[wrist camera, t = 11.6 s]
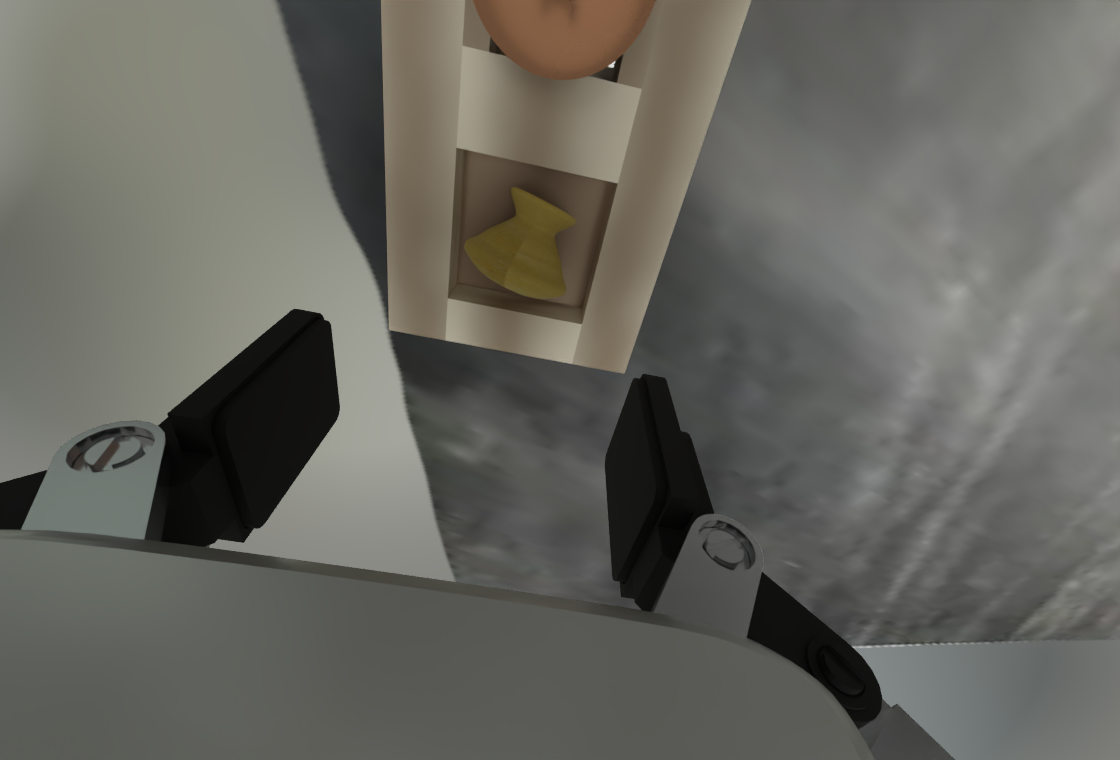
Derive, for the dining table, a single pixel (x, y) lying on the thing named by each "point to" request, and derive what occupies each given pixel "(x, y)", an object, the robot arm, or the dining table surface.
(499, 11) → the plunger
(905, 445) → the dining table surface
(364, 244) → the dining table surface
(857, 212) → the dining table surface
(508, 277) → the knob
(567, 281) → the mount
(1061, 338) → the dining table surface
